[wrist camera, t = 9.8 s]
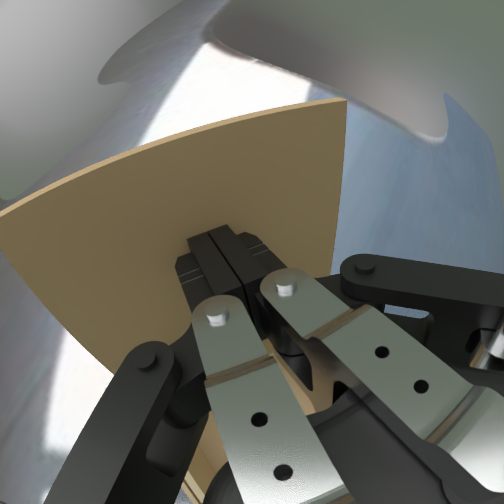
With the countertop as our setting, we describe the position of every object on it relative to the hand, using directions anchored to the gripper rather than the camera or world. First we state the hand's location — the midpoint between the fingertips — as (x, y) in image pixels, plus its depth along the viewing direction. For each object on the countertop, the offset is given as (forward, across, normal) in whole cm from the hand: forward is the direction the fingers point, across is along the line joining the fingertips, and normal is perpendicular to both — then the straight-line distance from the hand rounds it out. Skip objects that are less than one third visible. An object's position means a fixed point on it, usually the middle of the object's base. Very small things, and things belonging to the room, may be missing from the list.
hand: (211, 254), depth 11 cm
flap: (+3, 0, +10) cm, 11 cm away
